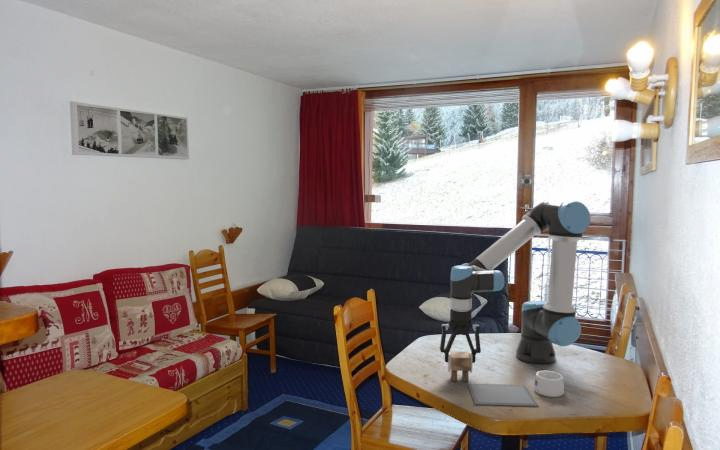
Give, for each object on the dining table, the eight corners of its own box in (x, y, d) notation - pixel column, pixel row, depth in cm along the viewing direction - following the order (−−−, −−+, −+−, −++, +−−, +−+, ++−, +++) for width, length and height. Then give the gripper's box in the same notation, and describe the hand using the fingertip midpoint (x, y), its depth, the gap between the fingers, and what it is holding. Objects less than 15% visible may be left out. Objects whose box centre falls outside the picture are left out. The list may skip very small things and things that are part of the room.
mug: (568, 398, 165) (568, 381, 164) (538, 397, 166) (538, 380, 165) (557, 384, 177) (557, 367, 176) (529, 383, 177) (529, 366, 177)
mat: (524, 386, 174) (524, 384, 174) (538, 406, 158) (538, 405, 158) (467, 384, 176) (467, 383, 176) (475, 405, 160) (475, 403, 160)
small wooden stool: (467, 375, 184) (468, 351, 183) (470, 383, 177) (471, 358, 176) (448, 375, 184) (449, 351, 184) (451, 382, 177) (451, 357, 177)
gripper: (486, 306, 181) (485, 367, 184) (432, 305, 183) (431, 366, 185) (491, 312, 174) (489, 375, 176) (433, 311, 175) (433, 374, 177)
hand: (459, 370), depth 180 cm, fingers closed on small wooden stool, 7 cm apart
